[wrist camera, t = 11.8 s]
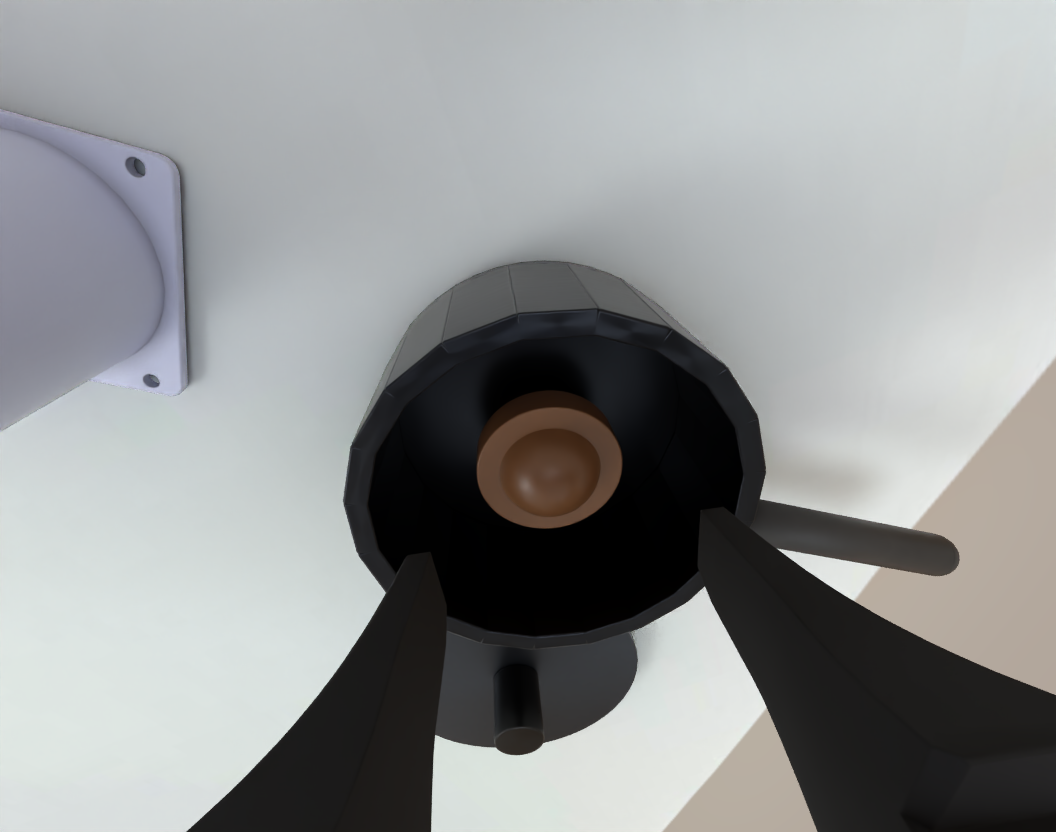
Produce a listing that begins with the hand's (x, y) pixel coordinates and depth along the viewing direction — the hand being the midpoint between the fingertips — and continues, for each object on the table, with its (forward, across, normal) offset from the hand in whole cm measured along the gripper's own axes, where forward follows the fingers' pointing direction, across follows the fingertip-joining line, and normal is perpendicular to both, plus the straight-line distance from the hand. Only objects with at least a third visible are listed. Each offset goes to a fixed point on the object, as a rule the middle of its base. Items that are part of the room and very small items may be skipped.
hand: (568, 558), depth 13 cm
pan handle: (+4, -10, +4) cm, 12 cm away
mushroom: (+7, 0, 0) cm, 7 cm away
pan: (+8, 0, 0) cm, 8 cm away
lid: (+7, +3, +15) cm, 17 cm away
